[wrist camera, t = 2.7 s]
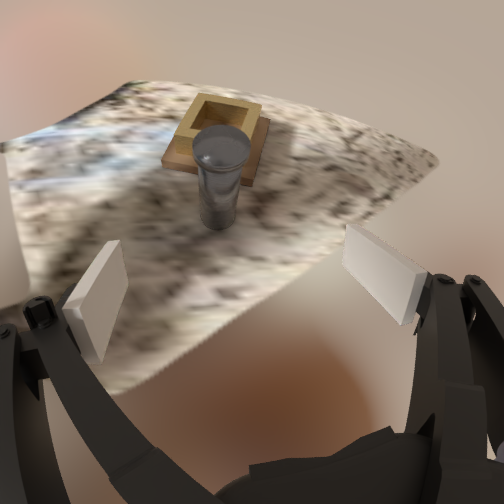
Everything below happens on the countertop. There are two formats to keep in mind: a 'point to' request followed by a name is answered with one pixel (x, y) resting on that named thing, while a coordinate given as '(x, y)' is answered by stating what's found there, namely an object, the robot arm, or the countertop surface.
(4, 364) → the robot arm
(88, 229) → the countertop surface
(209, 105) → the square socket frame
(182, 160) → the socket base
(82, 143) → the countertop surface
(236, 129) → the pin
